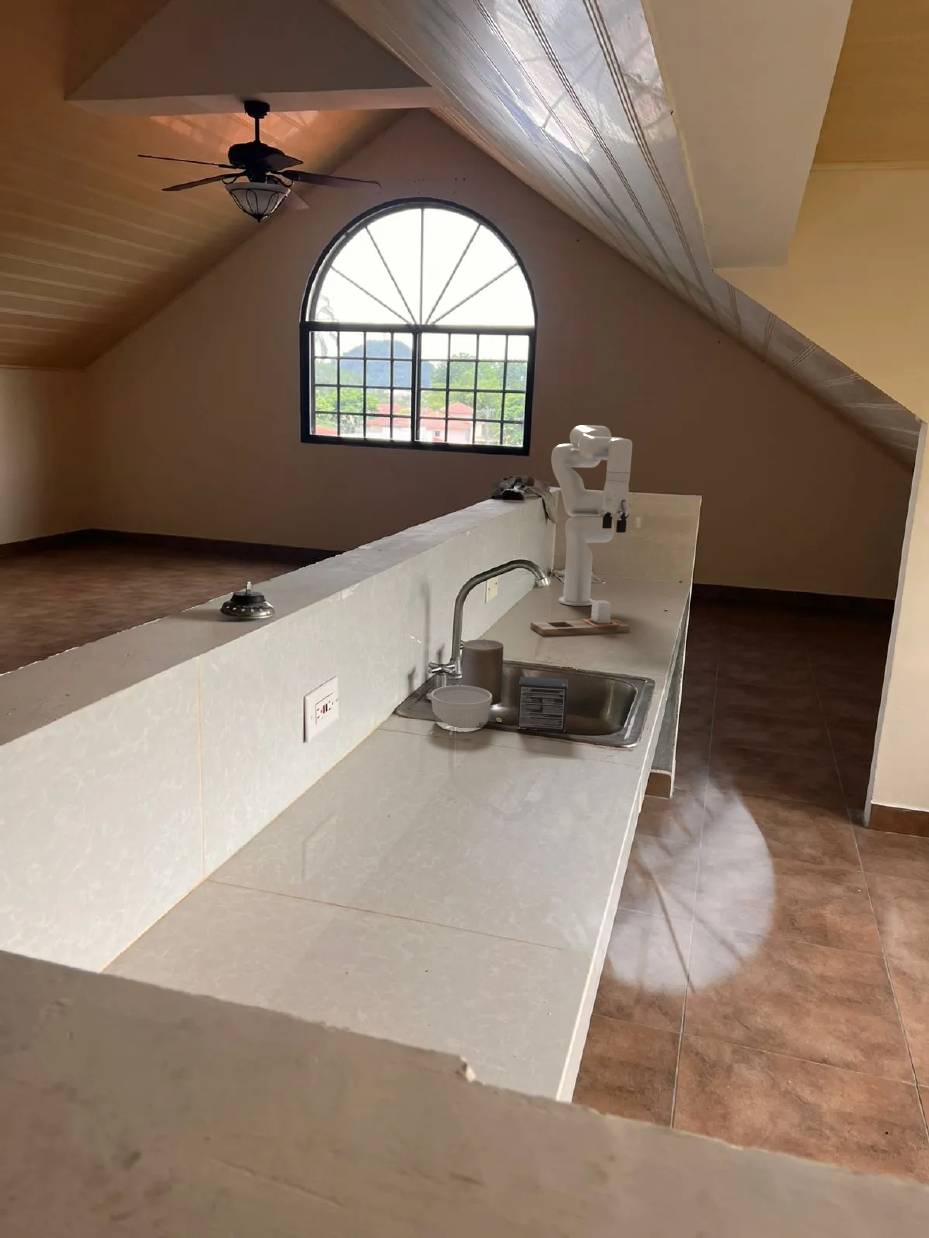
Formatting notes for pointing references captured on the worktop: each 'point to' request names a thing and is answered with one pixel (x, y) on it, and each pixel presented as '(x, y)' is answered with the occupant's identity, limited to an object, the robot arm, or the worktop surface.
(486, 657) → the pillar candle
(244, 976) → the worktop surface
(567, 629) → the tan flat board
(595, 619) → the grey square block
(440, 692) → the ramekin
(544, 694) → the small box
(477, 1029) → the worktop surface
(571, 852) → the worktop surface
